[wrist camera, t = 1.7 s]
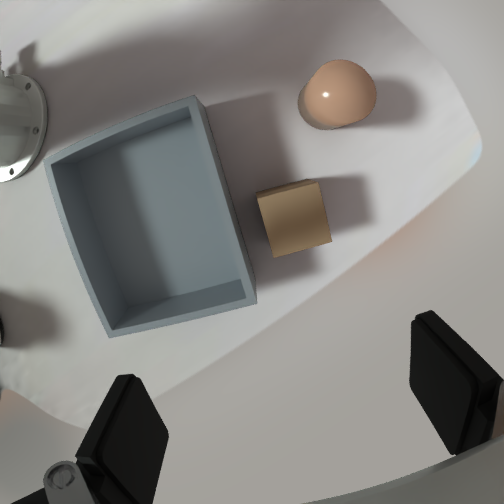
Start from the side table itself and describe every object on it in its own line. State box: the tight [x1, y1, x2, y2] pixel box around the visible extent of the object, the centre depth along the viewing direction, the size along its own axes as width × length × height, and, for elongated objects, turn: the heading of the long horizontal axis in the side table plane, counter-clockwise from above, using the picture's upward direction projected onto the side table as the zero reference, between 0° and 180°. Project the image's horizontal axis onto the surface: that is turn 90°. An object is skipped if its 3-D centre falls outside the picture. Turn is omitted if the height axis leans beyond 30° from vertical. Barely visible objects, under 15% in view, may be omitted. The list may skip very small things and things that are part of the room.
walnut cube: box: [256, 179, 332, 258], centre depth 28 cm, size 5×5×5 cm
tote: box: [43, 95, 257, 338], centre depth 28 cm, size 17×14×6 cm
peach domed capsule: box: [298, 60, 376, 130], centre depth 24 cm, size 5×5×7 cm
